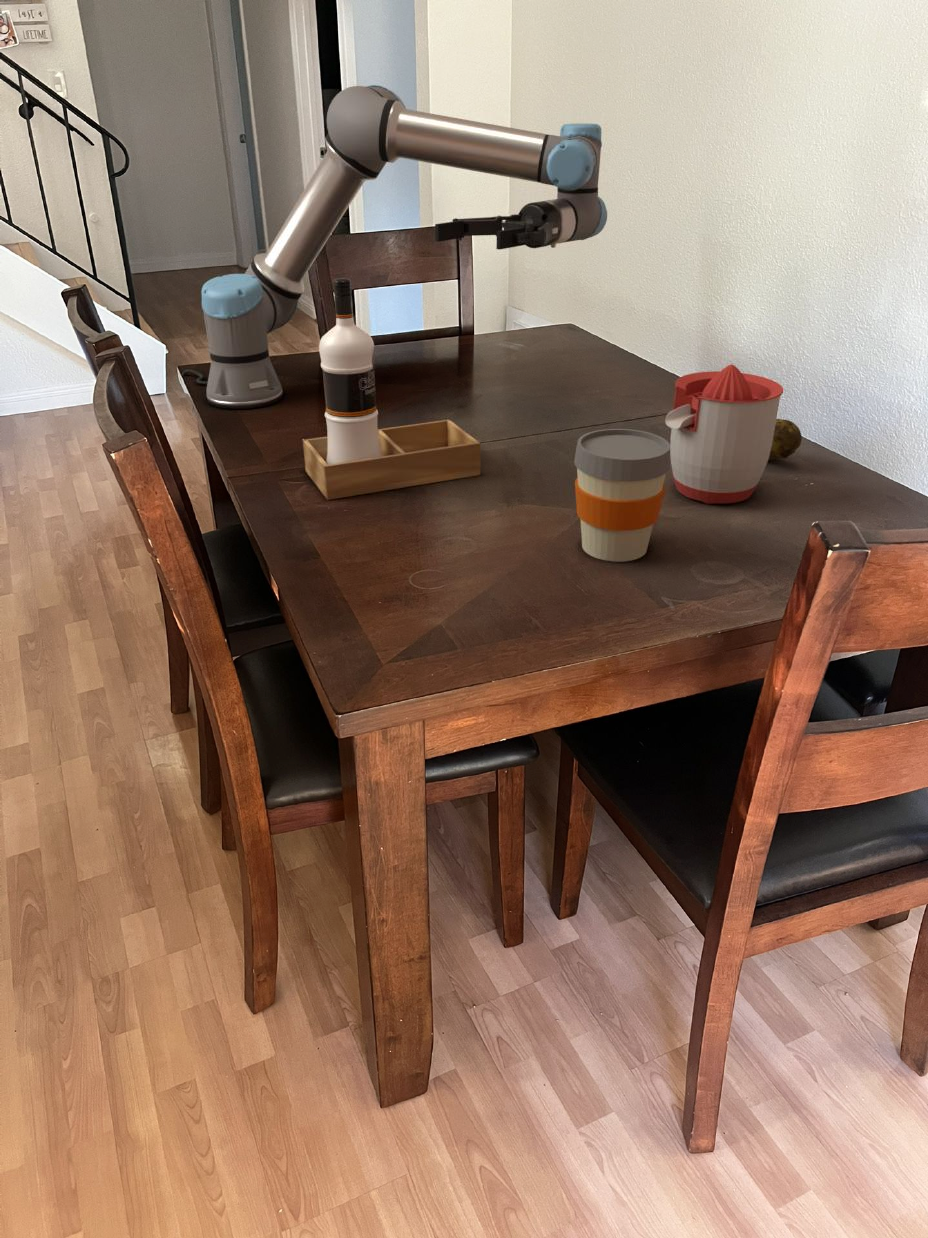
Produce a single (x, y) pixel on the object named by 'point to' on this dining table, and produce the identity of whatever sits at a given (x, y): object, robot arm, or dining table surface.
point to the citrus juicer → (721, 433)
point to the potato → (785, 439)
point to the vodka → (349, 385)
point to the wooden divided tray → (397, 460)
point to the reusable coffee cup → (619, 490)
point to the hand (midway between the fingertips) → (466, 236)
